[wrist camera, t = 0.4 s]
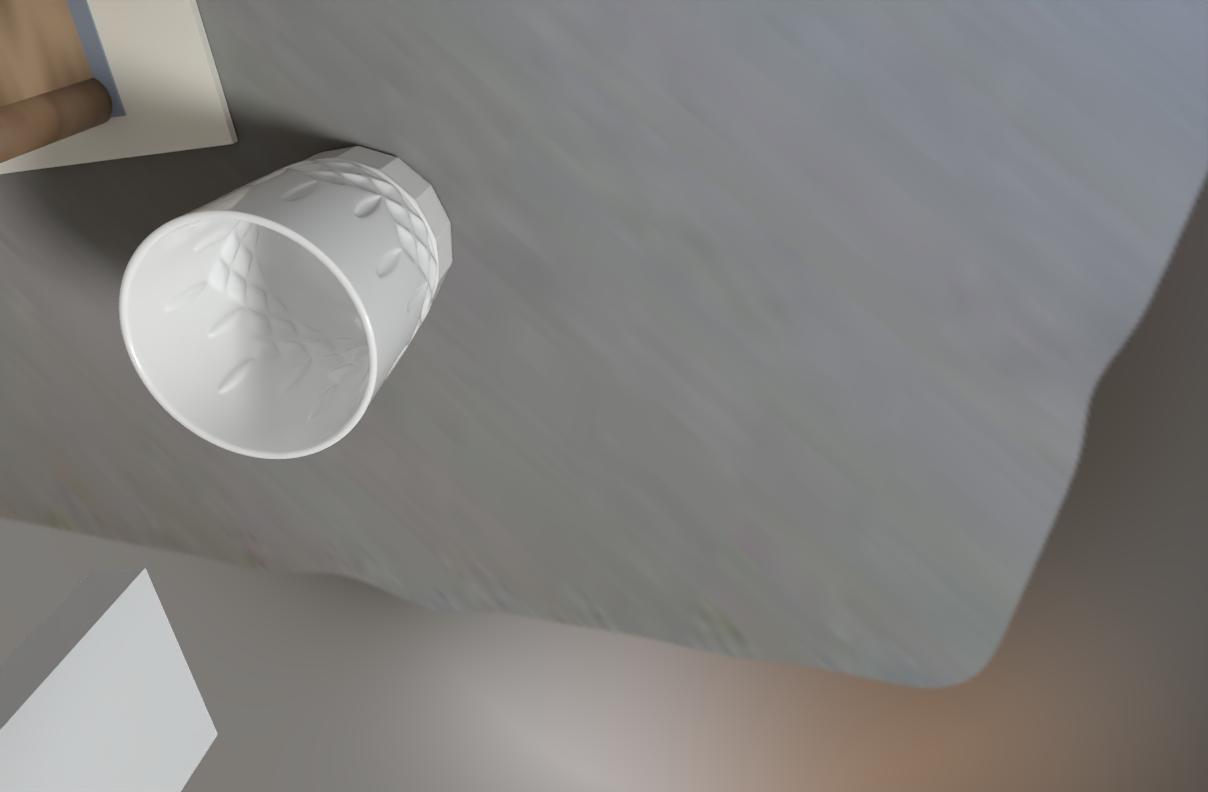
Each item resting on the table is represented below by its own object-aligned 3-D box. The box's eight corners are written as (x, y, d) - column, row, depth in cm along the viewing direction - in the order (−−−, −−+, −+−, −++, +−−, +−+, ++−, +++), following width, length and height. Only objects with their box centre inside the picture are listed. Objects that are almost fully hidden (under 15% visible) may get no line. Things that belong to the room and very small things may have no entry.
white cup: (505, 291, 40) (424, 414, 31) (333, 357, 42) (213, 489, 33) (405, 94, 37) (284, 167, 28) (227, 177, 39) (65, 269, 31)
